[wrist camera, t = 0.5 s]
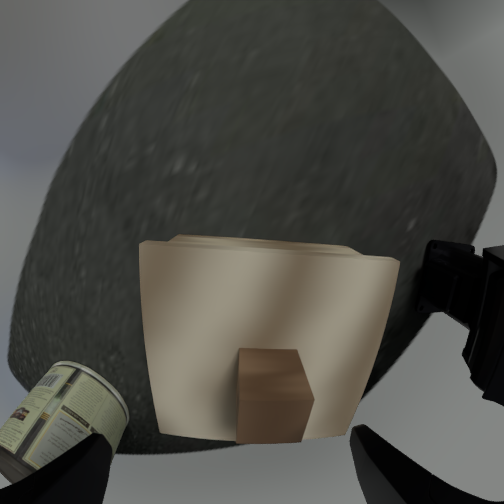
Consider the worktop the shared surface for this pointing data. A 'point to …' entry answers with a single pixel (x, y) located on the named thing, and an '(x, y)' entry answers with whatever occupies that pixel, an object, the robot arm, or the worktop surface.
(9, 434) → the coffee can
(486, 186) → the worktop surface
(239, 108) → the worktop surface
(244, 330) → the lid
